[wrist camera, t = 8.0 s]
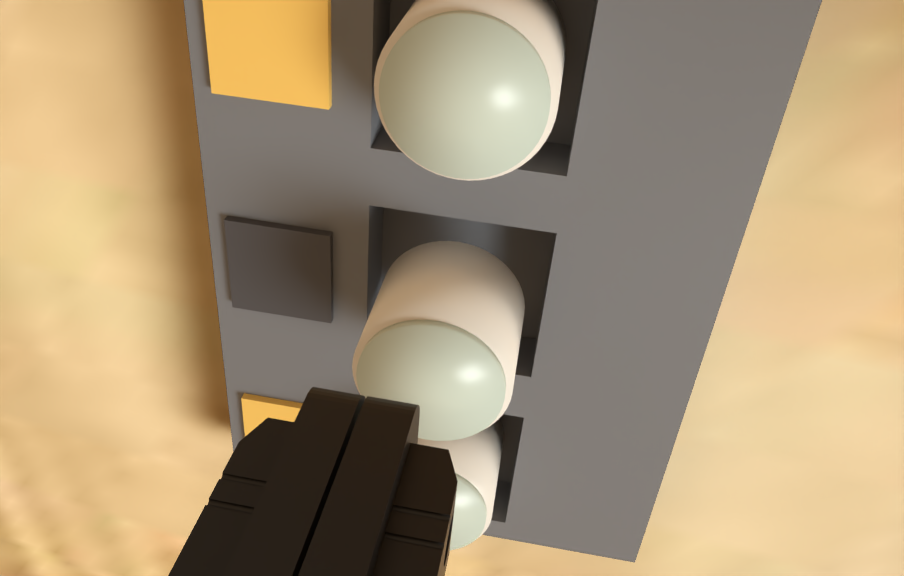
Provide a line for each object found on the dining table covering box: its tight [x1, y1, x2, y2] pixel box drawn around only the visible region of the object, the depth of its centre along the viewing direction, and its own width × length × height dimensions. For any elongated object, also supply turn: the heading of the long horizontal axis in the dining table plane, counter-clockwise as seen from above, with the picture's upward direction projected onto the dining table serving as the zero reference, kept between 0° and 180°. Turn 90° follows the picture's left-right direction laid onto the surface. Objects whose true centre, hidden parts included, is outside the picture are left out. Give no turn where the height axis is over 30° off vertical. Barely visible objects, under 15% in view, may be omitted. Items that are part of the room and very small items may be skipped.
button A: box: [374, 0, 566, 181], centre depth 23 cm, size 5×5×4 cm
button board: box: [184, 0, 822, 562], centre depth 29 cm, size 17×24×3 cm
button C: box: [418, 419, 504, 550], centre depth 32 cm, size 5×5×4 cm
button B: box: [352, 241, 525, 441], centre depth 26 cm, size 5×5×4 cm
